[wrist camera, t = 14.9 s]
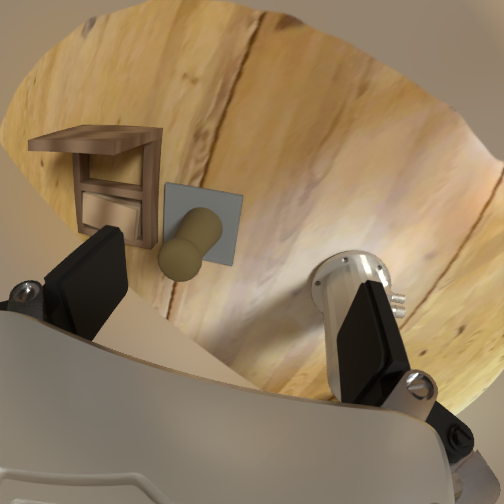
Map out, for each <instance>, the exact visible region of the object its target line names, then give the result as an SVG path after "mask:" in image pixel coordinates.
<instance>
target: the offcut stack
mask: <svg viewBox="0 0 504 504" xmlns="http://www.w3.org/2000/svg"><path fill="white" fill-rule="evenodd" d="M82 222H83V223H85V224H88V225H90V226H93V227H96V228H98V229H101V228H102V227H104V226H105V225H111V226H116V227H119V228H120V230H121V231H122V232H123V234H124V238H125V239H128V240H131V241H133V242H134V241H135V240H136V239H137V238H138V237H139V236H140V235H141V234H142V233H143V230H142V201H141V200H138V199H132V198H126V197H120V196H114V195H108V194H101V193H95V192H89V191H85V192H84V193H83V219H82Z"/></svg>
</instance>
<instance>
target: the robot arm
mask: <svg viewBox="0 0 504 504" xmlns="http://www.w3.org/2000/svg"><path fill="white" fill-rule="evenodd" d="M345 257H346V258H345ZM378 265H379V266H378ZM44 280H45V284H44V285H43V286H42V285H41V284H40V283H39V282H38V281H34V280H28V281H24V282H21V283H19V284H18V285H16V286H15V287H14V288H13V289H12V291H11V292H10V295H9V300H7V301H3V302H0V504H495V502H496V501H497V499H498V498H499V495H500V491H501V490H500V483H499V481H498V479H497V478H496V476H495V475H494V473H493V472H492V470H491V469H490V467H489V466H488V465H487V463H486V461H485V460H484V458H483V457H482V456H481V454H480V453H479V451H478V450H476V451H475V452H474V451H473V447H474V437H473V434H472V432H471V430H470V429H469V428H468V426H467V425H465V424H464V423H463V422H462V421H461V420H459V419H458V418H457V417H456V416H454V415H453V414H452V413H451V412H450V411H448V410H447V409H446V408H445V407H443V406H442V405H441V404H440V403H439V402H437V401H436V399H437V395H438V388H437V385H436V382H435V381H434V380H433V378H432V377H431V376H430V375H429V374H427V373H425V372H424V371H421V370H417V369H415V370H412V369H411V366H410V362H409V359H408V356H407V353H406V349H405V346H404V343H403V340H402V337H401V334H400V331H399V328H398V325H397V322H396V319H395V318H401V319H402V318H403V317H404V315H405V307H402V306H397V305H390V302H391V301H393V302H396V303H401V304H402V303H404V301H405V295H402V294H395V293H393V292H392V291H391V277H390V274H389V271H388V269H387V267H386V265H385V264H384V263H383V262H382V260H381V259H379V258H378V257H376V256H375V255H373V254H370V253H368V252H363V251H348V252H343V253H340V254H337V255H335V256H333V257H331V258H329V259H328V260H327V261H325V262H324V263H323V264H322V265H321V266H320V267H319V268H318V270H317V271H316V273H315V275H314V277H313V280H312V285H311V294H312V299H313V302H314V304H315V306H316V307H317V308H318V310H319V311H321V312H322V313H323V316H324V329H325V345H326V364H327V380H328V384H329V387H330V389H331V391H332V393H333V394H334V396H335V397H336V398H337V399H338V400H339V401H340V402H333V401H325V400H317V399H310V398H303V397H296V396H290V395H283V394H277V393H272V392H266V391H261V390H256V389H251V388H246V387H240V386H236V385H231V384H227V383H223V382H219V381H214V380H210V379H206V378H203V377H199V376H195V375H191V374H188V373H184V372H180V371H177V370H173V369H170V368H167V367H163V366H160V365H157V364H154V363H151V362H147V361H144V360H141V359H138V358H135V357H132V356H130V355H127V354H124V353H121V352H118V351H115V350H113V349H110V348H107V347H104V346H102V345H100V344H97V343H94V342H92V340H93V339H94V337H95V336H96V334H97V333H98V332H99V330H100V329H101V327H102V326H103V325H104V323H105V322H106V320H107V319H108V318H109V316H110V315H111V314H112V312H113V311H114V309H115V308H116V307H117V305H118V304H119V303H120V301H121V300H122V299H123V297H124V296H125V295H126V293H127V291H128V279H127V270H126V258H125V245H124V234H123V232H122V231H121V230H120V228H119V227H116V226H111V225H105V226H104V227H102V228H101V229H100V230H99V231H97V232H96V233H95V234H94V235H92V236H91V237H90V238H89V239H88V240H86V241H85V242H84V243H83V244H82V245H80V246H79V247H78V248H77V249H76V250H74V251H73V252H72V253H71V254H70V255H69V256H68V257H66V258H65V259H64V260H63V261H62V262H61V263H60V264H58V265H57V266H56V268H54V269H53V270H52V271H51V272H50V273H49V274H48V275H47V276H46V277H44Z"/></svg>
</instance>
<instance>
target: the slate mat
mask: <svg viewBox="0 0 504 504" xmlns="http://www.w3.org/2000/svg"><path fill="white" fill-rule="evenodd" d="M242 200H243V195H238V194H233V193H228V192H222V191H217V190H211V189H205V188H200V187H194V186H188V185H182V184H175V183H169V182H167V183H166V185H165V208H164V244H165V243H166V242H167V241H169V240H171V239H173V238H174V236H175V234H176V232H177V230H178V228H179V226H180V224H181V222H182V220H183V218H184V216H185V215H186V214H187V212H188V211H190V210H191V209H193V208H198V207H203V208H207V209H210V210H212V211H213V212H214V213H216V214H217V215H218V217H219V218H220V220H221V222H222V226H223V232H222V235H221V237H220V239H219V240H218V241H217V242H216V244H215V245H214V246H213V247H212V248H211V249H210V250H209V251H208V252H207V253H206V255H205V256H204V257H203V258H202V260H206V261H211V262H215V263H220V264H224V265H229V266H232V265H233V259H234V253H235V246H236V239H237V233H238V226H239V220H240V213H241V207H242Z"/></svg>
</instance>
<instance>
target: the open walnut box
mask: <svg viewBox="0 0 504 504" xmlns="http://www.w3.org/2000/svg"><path fill="white" fill-rule="evenodd" d="M162 131H163V128H155V127H140V126H119V125H80V126H76V127H72V128H68V129H64V130H61V131H57V132H54V133H50V134H47V135H43V136H40V137H37V138H34V139H30V140H28V151H50V152H72V153H73V175H74V192H75V204H76V215H77V224H78V232H79V233H83V234H87V235H91V236H92V235H94V234H95V233H96V232H97V231H99V230H100V229H98V228H96V227H93V226H90V225H88V224H85V223H83V222H82V219H83V193H84V192H85V191H89V192H95V193H101V194H108V195H114V196H120V197H126V198H132V199H138V200H142V230H143V233H142V234H141V235H140V236H139V237H138V238H137V239H136V240H135V241H134V242H133V241H131V240H128V239H125V238H124V243H125V244H129V245H133V246H138V247H142V248H146V249H152V248H153V247H154V246H155V245H156V243H157V242H158V195H159V173H160V156H161V143H162ZM143 144H144V158H143V186H141V185H134V184H128V183H121V182H113V181H106V180H98V179H91V178H89V154H102V155H113V156H114V155H116V154H119V153H121V152H124V151H126V150H129V149H132V148H134V147H137V146H140V145H143Z"/></svg>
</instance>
